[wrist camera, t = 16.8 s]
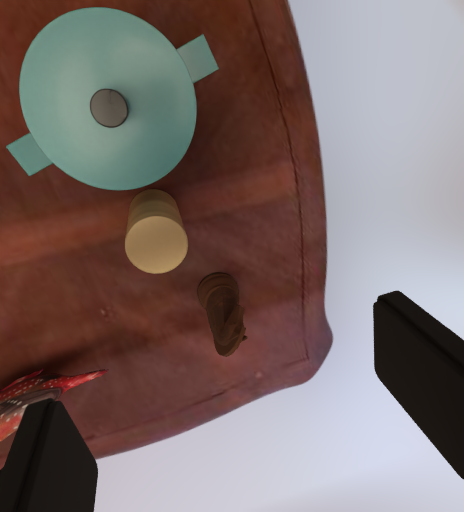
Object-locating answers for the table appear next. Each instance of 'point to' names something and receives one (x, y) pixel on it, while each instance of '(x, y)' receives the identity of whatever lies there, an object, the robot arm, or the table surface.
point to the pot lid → (107, 98)
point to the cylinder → (155, 232)
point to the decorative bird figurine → (34, 395)
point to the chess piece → (223, 311)
